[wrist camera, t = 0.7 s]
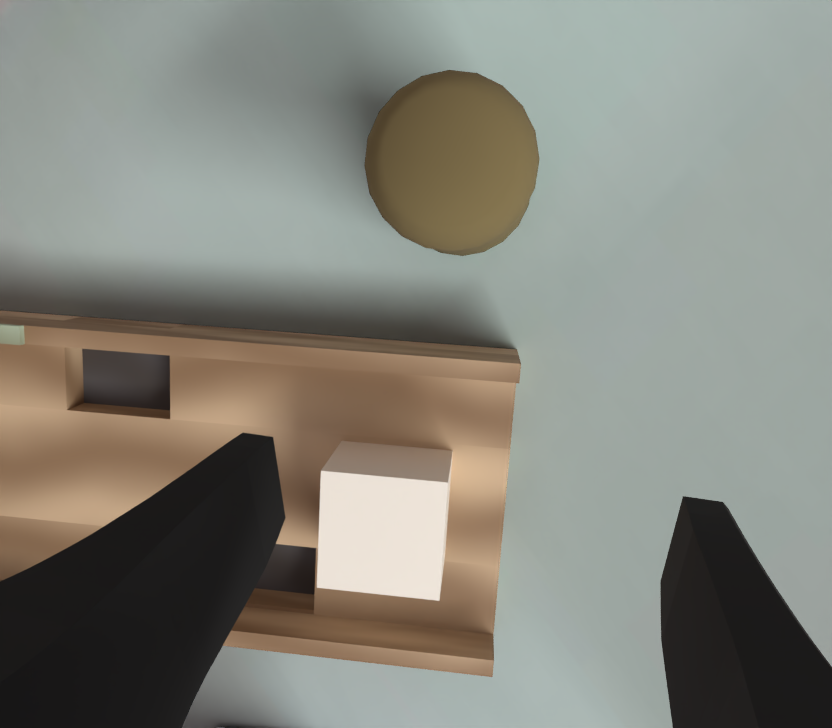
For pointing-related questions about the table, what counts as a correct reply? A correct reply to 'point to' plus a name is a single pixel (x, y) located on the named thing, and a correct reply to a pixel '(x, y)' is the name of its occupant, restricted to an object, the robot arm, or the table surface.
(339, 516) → the block
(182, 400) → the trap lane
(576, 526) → the table surface
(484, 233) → the cork
